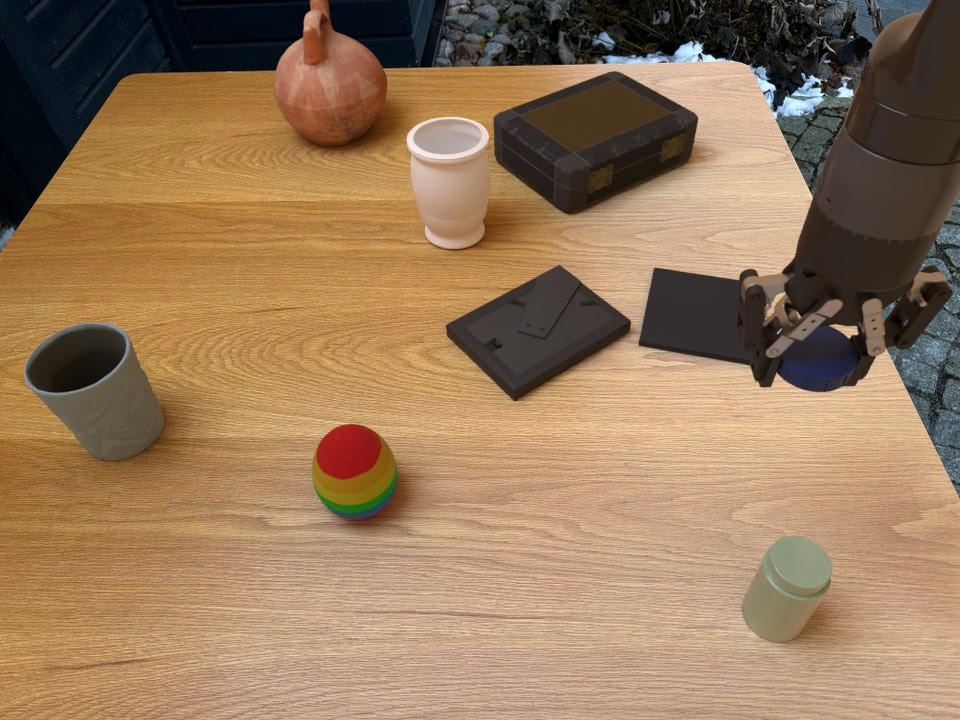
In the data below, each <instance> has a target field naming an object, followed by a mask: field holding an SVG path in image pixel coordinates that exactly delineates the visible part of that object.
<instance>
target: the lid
mask: <svg viewBox="0 0 960 720" xmlns="http://www.w3.org/2000/svg"><path fill="white" fill-rule="evenodd" d="M781 355H782V357H783V358H782V360H781V363H780V365H779V368H778V371H777V373H776V375H778V376H779V377H780V379H782V380H783V381H785V382H786V383H787V384H790V385H791V386H793V387H795V388H797V389H800V390H803V391H806V392H811V393H828V392H834V391H836V390H839V389H841V388H844V387H845V386H844V385H845V384H846V383H847V382H848V380H849V379H850V377H851V375H852V374H853V372H854V370H855V368H856V366H857V361H858V353H857V351H856V348H855V346H854V344H853V343H852V341H851V340H850V337H848V336H847V335H846V334H845V333H844V332H842V331H840V330H838V329H837V328H835V327H833V326H832V325H830V326H824V327H817V328H816V329H815V330H814V331H813V332H812V333H811V334H809V335H808V336H807V337H806V338H805V339H804V340H803V341H797V340H796V341H795V342H794V343H793V344H792V345H791V346H790V347H788V348H787V349H786V350H785V351H784V352H783V353H782V354H781Z"/></svg>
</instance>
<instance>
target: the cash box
mask: <svg viewBox="0 0 960 720" xmlns="http://www.w3.org/2000/svg"><path fill="white" fill-rule="evenodd" d="M698 123H699V116H698V115H697V114H696V113H695V112H694V111H692V110H690V109H689V108H687V107H685V106H683V105H681V104H679V103H678V102H676V101H674V100H672V99H670V98H669V97H667V96H665V95H663V94H662V93H659V92H658V91H656V90H654V89H652V88H650V87H649V86H646V85H644V84H643V83H641V82H639V81H638V80H635V79H634V78H631V77H630V76H628V75H627V74H624V73H623V72H620V71H617V70H613V71H608V72H605V73H602V74H600V75H597V76H595V77H591V78H589V79H586V80H584V81H580V82H579V83H575V84H573V85H570V86H567V87H565V88H561V89H559V90H557V91H554V92H551V93H548V94H545V95H543V96H540V97H538V98H535V99H532V100H529V101H526V102H524V103H522V104H519V105H516V106H513V107H511V108H508V109H505V110H503V111H500V112H498V113H497V114H495V115H494V116H493V151H494V153H493V154H494V155H493V156H494V158H495V160H496V162H497V163H499V164H500V165H502V166H503V167H504V168H505V169H507V170H508V171H509V172H510V173H512V174H513V175H515V176H516V177H517V178H518V179H520V180H521V181H522V182H523V183H525V184H527V186H529V187H530V188H531V189H532V190H534V191H535V192H536V193H538V194H540V195H541V196H542V197H543V198H545V199H546V200H547V201H549V202H550V203H551V204H552V205H554V206H555V207H556V208H557V209H559V210H560V211H563V212H566V213H575V212H579V211H580V210H584V209H585V208H587V207H589V206H591V205H594V204H596V203H598V202H601V201H603V200H605V199H607V198H610V197H612V196H614V195H616V194H618V193H621V192H623V191H625V190H627V189H630V188H632V187H634V186H636V185H638V184H641V183H643V182H645V181H647V180H650V179H652V178H654V177H657V176H659V175H661V174H663V173H665V172H667V171H670V170H671V169H674V168H676V167H679V166H681V165H683V164H685V163H687V162H689V160H691V157H692V155H693V150H694V144H695V140H696V134H697V129H698Z"/></svg>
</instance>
